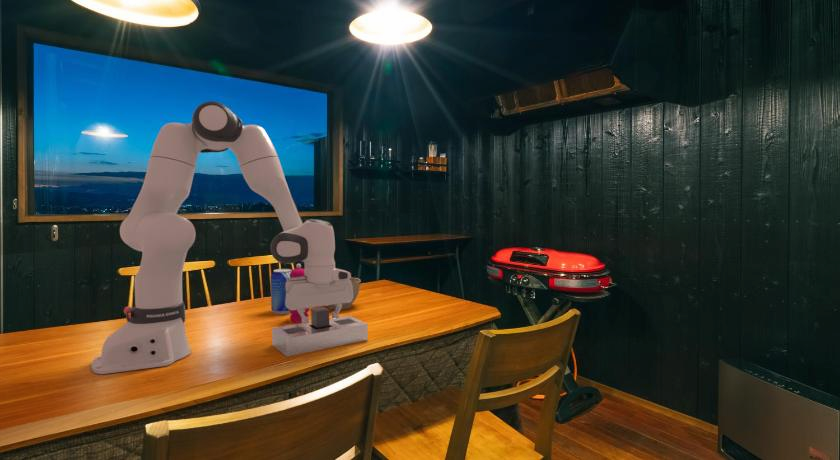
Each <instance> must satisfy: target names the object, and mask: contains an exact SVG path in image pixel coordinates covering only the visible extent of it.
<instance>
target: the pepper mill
mask: <svg viewBox="0 0 840 460" xmlns="http://www.w3.org/2000/svg"><path fill="white" fill-rule="evenodd" d="M295 267H296V268H294V269H291V270H292V271H291V273H290V278H291V277H300V276H305V268H304V267H303V268H302V265H301V263H297V264H296V266H295ZM296 281H297V280H296ZM310 310H311V308H305V312H303V313H304V315H305V316H307V317H309V314H308V313H309V311H310ZM289 311H290V313H289V314H290V316H289V321H290V322H292V323H302V317H301V316H300V314H299V313H298V310H289ZM309 318H310V317H309Z"/></svg>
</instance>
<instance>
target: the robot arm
mask: <svg viewBox="0 0 840 460" xmlns="http://www.w3.org/2000/svg"><path fill="white" fill-rule="evenodd" d="M228 150H230V151H231V152H232V153H233V154H234V155H235V157H236V160H237V163H238V166H239V168H240V171H241V173H242V176H243V179H244V180H245V182H246V184H247V185H248V187H249V188H250V189H251V191H253V192H254V193H256V194H258V195H259V196H261V197H262V198H264V199H265V200H266V201H268V202H269V203H270V205H271V206H272V207H273V209H274V211H275V213H276V215H277V218H278V220H279V222H280V225H281V227H282V230H283V231H282V232H280V233H278V234H276V235H275V236H274V237H273V238H272V240H271V242H270V245H269V246H270V248H269V249H270V253H271V255H272V257H273V259H274V260H275V261H277V262H278V263H281V264H286V265H287V264H288V265H290V264H291V265H292V264H294V263H295V264H296V263H298V262H303V263H304V267H303V268H304V269H305V276H300V277H291V278H290V279H289V280H287V281H286V283H285V290H286V299H285V306H286V307H287V308H288V309H289V310H298V313H299V314H300V316H301V317H302V322H301V323H303V324H306V323H309V322H310V321H309V319H310V317H307V316H305V315H304V313H303V312H305V308H310V309H313V308H320V307H325V306H327V305H333V304H335V306H336V309H334V311H331V318H333V319H337V318H339V315H340V311H341V310H342V309H341V308H342V303H347V302H351V301H352V299H353V286H352V282H351V281H350V280H349V279H350V277H352V273H351V272H350V271H347V270H344V269H341V268H339V267H336V261H335V258H334V257H335V251H336V240H335V239H336V237H335V231H334V227H333V225H332V224H331V223H330V222H329V221H326V220H322V219H314V218H310V219H307V220H305V221H304V222H303V219H302V216H301V215H300V213H299V210H298V207H297V205H296V202H295V200H294V198H293V196H292V193H291V191H290V188H289V186H288V183H287V181H286V177H285V174H284V171H283V167H282V165H281V161H280V158H279V156H278V153H277V151H276V148H275V146H274V145H273V142H272V139H271V138H270V137H269V135H268V133H267V132H266V129H265V128H263V127H261V126H260V125H257V124H246V125H243V121H242V119H241V118H240V117H238V116H237V115H236V114H235V113H234V112H233V111H232V110H231V109H230V108H229V107H227V106H226V105H225V104H223V103H221V102H218V101H213V100H212V101H211V100H210V101H205V102H202V103H201V104H200V105H198V106H197V107H196V108H195V109H194V111H193V114H192V118H191V122H190V123H181V122H169V123H166V124H164V125H163V126H162V127H161V128H160V130H159V132H158V134H157V136H156V138H155V141H154V143H153V146H152V150H151V151H150V152H151V153H150V155H149V156H150V157H149V160H148V164H147V169H146V173H145V176H144V180H143V184H142V187H141V189H140V191H139V193H138V196H137V198H136V200H135V202H134V204H133V206H132V208H131V209H130V212H129V214H128V215H127V217H126V218H125V219H123V221H122V222H121V224H120V227H119V235H120V239H121V240H122V241H123V242H124V244H126V245H127V246H128V247H130V248H132V249H133V250H135V251H137V252H142V255H141V260H140V265H139V268H138V271H137V273H135V276H134V301H135V302H134V304H135V306H133V307H131V306H125V307H124V308H123V313H124V315H125V316H126V322H125V323H124V324H123V325H121V326H120V327H119V328H118V329H116V330H114V331H113V333H111V334H110V335H109V336H108V337H107V338H106V339H105V340H104V342H103V345H102V349H101V354H99V355H98V356H96V357H95V358H94V359H93V360H92V361H91V371H92V372H93V373H95V374H98V375H106V374H115V373H120V372H130V371H137V370H144V369H151V368H152V369H153V368H160V367H166V366H170V365H172V364H173V363H174V362H176V361H178V360H181V359H183V358H185V357H187V356H188V355H190V354H191V352H192V350H191V347H190V345H189V341H188V337H187V333H186V327H185V322H186V306H185V305H186V304H185V302H184V300H183V271H184V266H185V263H186V258H187V254H188V251H189V249H190V248H191V247H192V246H193V244H194V242H196V241H195V240H196V237H197V236H196V235H197V234H196V228H195V226H194V224H193V223H192V222H191V220H189V219H188V218H186V217H184V216H182V215H179V214H178V211H179V209H180V208H181V206H182V204H183V203H184V202H185V200H186V199H188V198H189V196H190V192H191V188H192V184H193V180H194V175H195V171H196V166H197V162H198V161H197V160H198V157H199V155H200V154H201V153H202V154H204V153H221V152H225V151H228ZM296 280H297V281H296Z"/></svg>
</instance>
